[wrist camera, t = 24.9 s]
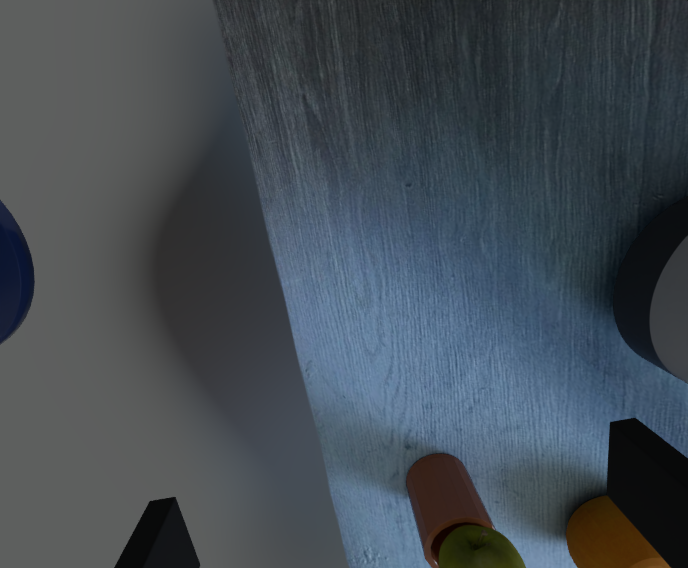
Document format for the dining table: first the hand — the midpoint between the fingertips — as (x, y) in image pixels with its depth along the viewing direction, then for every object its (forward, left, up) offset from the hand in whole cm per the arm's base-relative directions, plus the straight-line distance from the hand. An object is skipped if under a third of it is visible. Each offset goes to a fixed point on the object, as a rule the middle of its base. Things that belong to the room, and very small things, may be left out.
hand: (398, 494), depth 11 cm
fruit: (+28, -40, -29) cm, 57 cm away
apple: (+7, -29, -20) cm, 36 cm away
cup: (+7, -29, -29) cm, 41 cm away
